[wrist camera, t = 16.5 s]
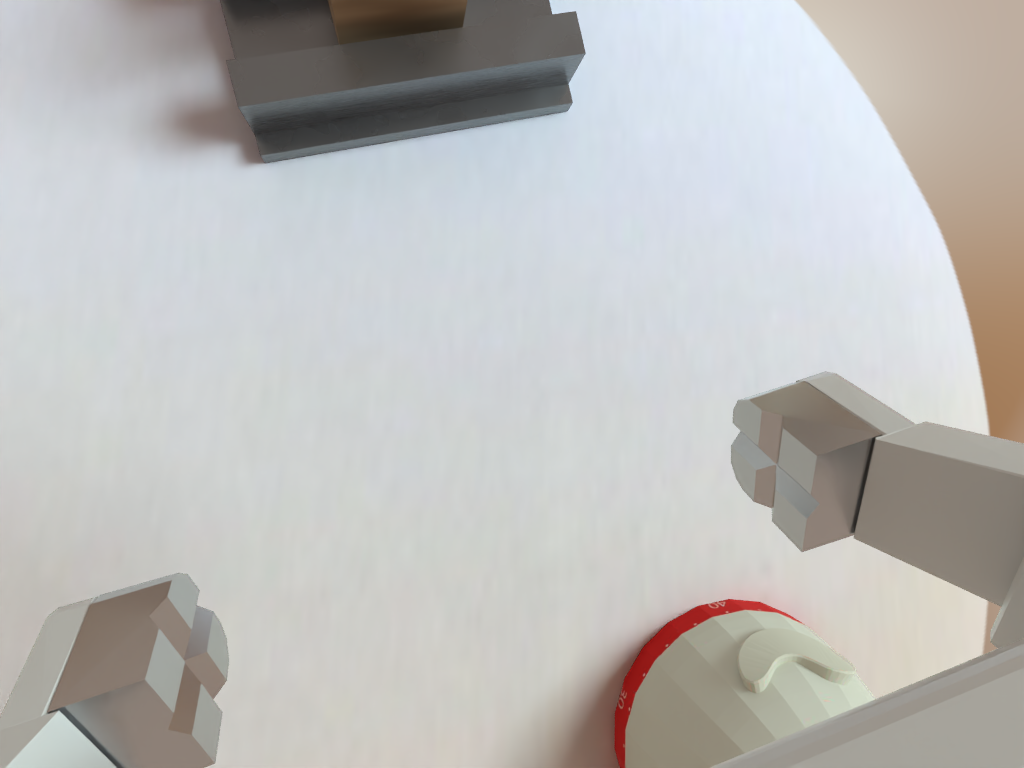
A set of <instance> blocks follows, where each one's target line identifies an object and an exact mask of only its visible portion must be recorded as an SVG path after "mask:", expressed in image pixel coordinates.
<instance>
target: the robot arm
mask: <svg viewBox="0 0 1024 768" xmlns="http://www.w3.org/2000/svg"><path fill="white" fill-rule="evenodd" d="M733 424H734V425H735V426H736V427H737V428H738V429H739V430H740V433H739V434H738V436H737V437H736V439H735V440H734V442H733V443H732V445H731V464H732V467H733V470H734V473H735V476H736V479H737V481H738V482H739V484H740V486H741V487H742V489H743V491H744V492H745V493H746V494H747V495H748V496H749V497H750V498H751V499H752V500H753V501H754V502H756V503H759V504H762V505H764V506H767V507H770V508H772V522H773V523H774V524H775V525H776V526H777V527H778V528H779V529H780V530H781V531H782V532H783V533H784V534H785V535H786V536H787V537H788V538H789V539H790V540H791V541H792V542H793V543H794V544H795V545H796V547H797V548H798V549H799V550H800V551H801V552H804V551H807V550H810V549H813V548H816V547H819V546H822V545H825V544H828V543H831V542H834V541H837V540H840V539H843V538H846V537H849V536H852V535H854V539H856V540H859V541H861V542H863V543H865V544H867V545H869V546H872V547H874V548H876V549H878V550H880V551H882V552H884V553H887V554H889V555H891V556H893V557H895V558H897V559H900V560H902V561H904V562H906V563H908V564H910V565H912V566H915V567H917V568H919V569H921V570H923V571H925V572H928V573H930V574H932V575H934V576H936V577H938V578H941V579H943V580H945V581H947V582H949V583H951V584H953V585H956V586H958V587H960V588H962V589H964V590H966V591H969V592H971V593H973V594H975V595H977V596H979V597H981V598H984V599H986V600H988V601H990V602H992V603H994V604H997V605H999V606H1001V609H1000V611H999V614H998V616H997V618H996V620H995V622H994V624H993V627H992V629H991V643H992V644H993V645H995V646H996V647H997V648H998V649H996V650H993V651H991V652H989V653H986V654H984V655H981V656H979V657H977V658H974V659H972V660H969V661H967V662H964V663H962V664H960V665H957V666H955V667H952V668H950V669H947V670H945V671H943V672H940V673H938V674H935V675H933V676H930V677H928V678H926V679H923V680H921V681H918V682H916V683H914V684H911V685H909V686H906V687H904V688H901V689H899V690H897V691H894V692H892V693H889V694H887V695H884V696H882V697H880V698H877V699H875V700H872V701H870V702H868V703H865V704H863V705H860V706H858V707H855V708H853V709H851V710H848V711H846V712H843V713H841V714H838V715H836V716H834V717H831V718H829V719H826V720H824V721H822V722H819V723H817V724H814V725H812V726H809V727H807V728H805V729H802V730H800V731H797V732H795V733H792V734H790V735H788V736H785V737H783V738H780V739H778V740H776V741H773V742H771V743H768V744H766V745H763V746H761V747H759V748H756V749H754V750H751V751H749V752H746V753H744V754H742V755H739V756H737V757H734V758H732V759H730V760H727V761H725V762H722V763H720V764H717V765H715V766H713V767H710V768H1024V444H1023V443H1019V442H1014V441H1010V440H1005V439H1001V438H996V437H992V436H987V435H983V434H978V433H974V432H970V431H965V430H961V429H956V428H952V427H947V426H943V425H938V424H934V423H929V422H923V423H920V424H917V425H916V424H915V423H913V422H912V421H910V420H909V419H907V418H905V417H904V416H902V415H901V414H899V413H898V412H896V411H894V410H893V409H891V408H890V407H888V406H887V405H885V404H883V403H882V402H880V401H879V400H877V399H876V398H874V397H872V396H871V395H869V394H868V393H866V392H865V391H863V390H861V389H860V388H858V387H857V386H855V385H853V384H852V383H850V382H849V381H847V380H846V379H844V378H842V377H841V376H839V375H838V374H835V373H831V372H826V371H825V372H822V373H819V374H816V375H813V376H810V377H807V378H804V379H801V380H798V381H796V382H795V383H791V384H788V385H785V386H782V387H778V388H775V389H772V390H769V391H766V392H763V393H759V394H756V395H753V396H750V397H747V398H744V399H740V400H738V401H737V403H736V405H735V407H734V410H733ZM198 595H199V589H198V587H197V586H196V585H195V583H194V582H193V581H192V579H191V578H190V577H189V575H188V574H183V573H176V574H172V575H169V576H165V577H162V578H158V579H155V580H151V581H148V582H144V583H141V584H137V585H134V586H130V587H127V588H123V589H120V590H116V591H113V592H109V593H106V594H102V595H100V596H99V597H95V598H91V599H87V600H84V601H81V602H77V603H74V604H70V605H67V606H63V607H60V608H58V609H56V610H55V611H54V612H53V613H52V614H50V615H49V616H48V617H47V619H46V620H45V623H44V625H43V627H42V629H41V631H40V633H39V635H38V638H37V640H36V642H35V644H34V646H33V648H32V650H31V652H30V655H29V657H28V659H27V661H26V663H25V665H24V667H23V670H22V672H21V674H20V676H19V678H18V680H17V682H16V684H15V687H14V689H13V691H12V693H11V695H10V697H9V699H8V701H7V704H6V706H5V708H4V710H3V712H2V714H1V716H0V768H204V767H207V766H210V765H212V764H215V761H216V754H217V747H218V740H219V733H220V726H221V719H222V711H221V710H220V708H219V707H218V705H217V704H216V703H215V701H214V700H213V699H214V698H215V696H216V695H217V693H218V692H219V691H220V689H221V688H222V686H223V685H224V684H225V682H226V681H227V674H228V666H229V655H228V646H227V638H226V636H225V633H224V630H223V627H222V625H221V623H220V621H219V619H218V618H217V616H216V615H215V613H214V612H213V611H211V610H208V609H205V608H202V607H200V606H197V600H198Z"/></svg>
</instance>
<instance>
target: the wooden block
mask: <svg viewBox="0 0 1024 768" xmlns="http://www.w3.org/2000/svg"><path fill="white" fill-rule="evenodd" d="M328 3H329V7H330V11H331V15H332V19H333V23H334V27H335V31H336V35H337V39H338V43H339V45H340V44H348V43H355V42H362V41H369V40H376V39H383V38H390V37H397V36H404V35H411V34H418V33H426V32H433V31H440V30H447V29H454V28H461V27H463V23H464V17H465V11H466V5H467V0H328Z"/></svg>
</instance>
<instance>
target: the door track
mask: <svg viewBox="0 0 1024 768" xmlns="http://www.w3.org/2000/svg"><path fill="white" fill-rule="evenodd" d="M220 1H221V5H222V9H223V13H224V17H225V21H226V24H227V28H228V32H229V36H230V40H231V44H232V48H233V51H234V55H235V59H234V60H227V65H228V69H229V73H230V77H231V81H232V85H233V88H234V92H235V96H236V100H237V104H238V107H239V109H240V111H241V112H242V114H243V116H244V117H245V119H246V121H247V122H248V124H249V126H250V127H251V129H252V131H253V132H254V134H255V136H256V140H257V144H258V148H259V152H260V155H261V157H262V159H263V160H264V162H265V163H269V162H275V161H280V160H286V159H292V158H298V157H304V156H309V155H315V154H321V153H327V152H333V151H339V150H344V149H350V148H356V147H362V146H368V145H374V144H379V143H385V142H391V141H397V140H403V139H408V138H414V137H420V136H426V135H432V134H438V133H443V132H449V131H455V130H461V129H467V128H473V127H478V126H484V125H490V124H496V123H502V122H507V121H513V120H519V119H525V118H531V117H537V116H542V115H548V114H554V113H560V112H566V111H568V110H569V108H570V106H571V105H572V103H573V102H572V98H571V93H570V89H569V85H568V84H569V82H570V80H571V78H572V76H573V75H574V73H575V71H576V69H577V68H578V66H579V64H580V62H581V61H582V59H583V57H584V55H585V49H584V44H583V40H582V36H581V31H580V27H579V23H578V18H577V14H576V11H574V12H567V13H560V14H553V15H552V11H551V7H550V3H549V0H467V5H466V11H465V17H464V23H463V27H461V28H454V29H447V30H440V31H433V32H426V33H418V34H411V35H404V36H397V37H390V38H383V39H376V40H369V41H362V42H355V43H348V44H340V45H339V43H338V39H337V35H336V31H335V27H334V23H333V19H332V15H331V11H330V7H329V3H328V0H220Z"/></svg>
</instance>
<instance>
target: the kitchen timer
mask: <svg viewBox="0 0 1024 768" xmlns="http://www.w3.org/2000/svg"><path fill="white" fill-rule="evenodd" d="M872 700H875V697H874V696H873V695H872V693H871V692H870V691H869V689H868V688H867V687H866V685H865V684H864V683H863V681H862V680H861V679H860V678H859V676H858V675H857V674H856V668H855V667H854V665H853V664H852V663H850V662H849V661H848V660H847V659H845V658H844V657H843V656H841V655H840V654H838V653H837V652H836V651H835V650H834V649H832V648H831V647H830V646H829V645H828V644H827V643H826V642H825V641H824V640H822V639H821V638H820V637H819V636H818V635H817V634H816V633H815V632H814V631H812V630H811V629H810V628H809V627H807V626H806V625H805V624H803V623H801V622H800V621H798V620H796V619H795V618H793V617H791V616H790V615H788V614H786V613H784V612H782V611H779V610H777V609H775V608H772V607H770V606H768V605H766V604H763V603H761V602H754V601H743V600H732V599H728V600H723V601H719V602H714V603H710V604H705V605H701V606H697V607H695V608H694V609H692V610H690V611H688V612H686V613H685V614H683V615H681V616H679V617H677V618H675V619H674V620H672V621H670V622H668V623H667V624H666V625H665V626H664V627H663V628H662V629H661V630H660V631H659V632H658V633H657V634H656V635H655V636H654V637H653V638H652V639H651V640H650V641H649V642H648V643H647V644H646V645H645V646H644V647H643V648H642V650H641V652H640V653H639V655H638V657H637V658H636V660H635V662H634V663H633V665H632V667H631V669H630V670H629V672H628V674H627V675H626V677H625V679H624V683H623V686H622V690H621V693H620V697H619V700H618V704H617V707H616V711H615V752H616V756H617V759H618V763H619V766H620V768H710V767H713V766H715V765H717V764H720V763H722V762H725V761H727V760H730V759H732V758H734V757H737V756H739V755H742V754H744V753H746V752H749V751H751V750H754V749H756V748H759V747H761V746H763V745H766V744H768V743H771V742H773V741H776V740H778V739H780V738H783V737H785V736H788V735H790V734H792V733H795V732H797V731H800V730H802V729H805V728H807V727H809V726H812V725H814V724H817V723H819V722H822V721H824V720H826V719H829V718H831V717H834V716H836V715H838V714H841V713H843V712H846V711H848V710H851V709H853V708H855V707H858V706H860V705H863V704H865V703H868V702H870V701H872Z"/></svg>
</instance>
